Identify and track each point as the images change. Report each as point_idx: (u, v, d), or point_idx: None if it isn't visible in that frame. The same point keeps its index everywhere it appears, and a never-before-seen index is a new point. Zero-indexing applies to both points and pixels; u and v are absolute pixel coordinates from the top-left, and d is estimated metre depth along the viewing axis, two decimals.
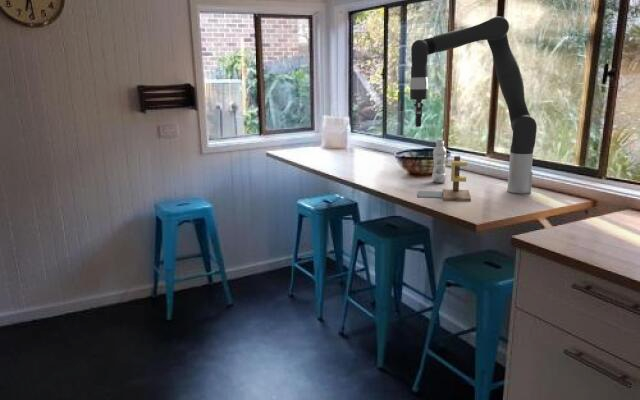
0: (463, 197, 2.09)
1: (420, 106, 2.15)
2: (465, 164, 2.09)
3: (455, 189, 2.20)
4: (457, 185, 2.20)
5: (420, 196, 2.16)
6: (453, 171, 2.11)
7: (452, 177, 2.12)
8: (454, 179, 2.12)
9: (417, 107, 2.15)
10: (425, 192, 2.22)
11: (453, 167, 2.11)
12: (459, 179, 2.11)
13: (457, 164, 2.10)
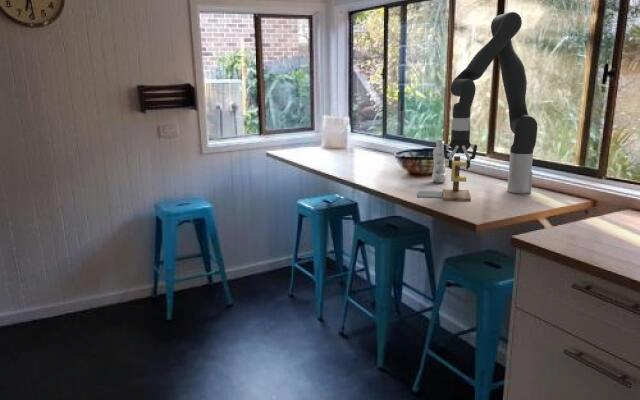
0: (463, 197, 2.09)
1: None
2: (465, 164, 2.09)
3: (455, 189, 2.20)
4: (457, 185, 2.20)
5: (420, 196, 2.16)
6: (453, 171, 2.11)
7: (452, 177, 2.12)
8: (454, 179, 2.12)
9: None
10: (425, 192, 2.22)
11: (453, 167, 2.11)
12: (459, 179, 2.11)
13: (457, 164, 2.10)
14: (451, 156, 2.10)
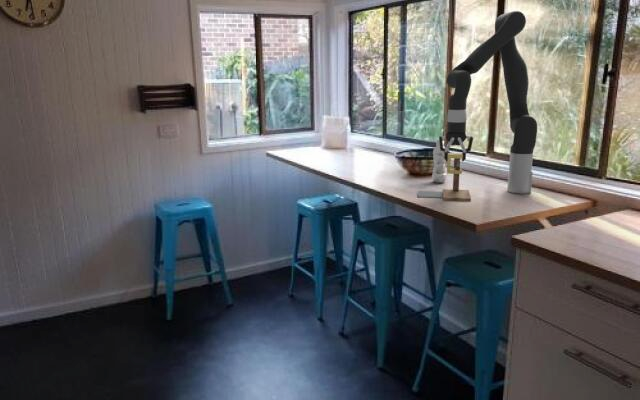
0: (463, 197, 2.09)
1: None
2: (461, 156, 2.09)
3: (455, 189, 2.20)
4: (457, 185, 2.20)
5: (420, 196, 2.16)
6: (449, 163, 2.11)
7: (448, 169, 2.11)
8: (450, 171, 2.11)
9: (472, 141, 2.08)
10: (425, 192, 2.22)
11: (449, 159, 2.10)
12: (455, 171, 2.11)
13: (453, 156, 2.10)
14: (447, 148, 2.10)
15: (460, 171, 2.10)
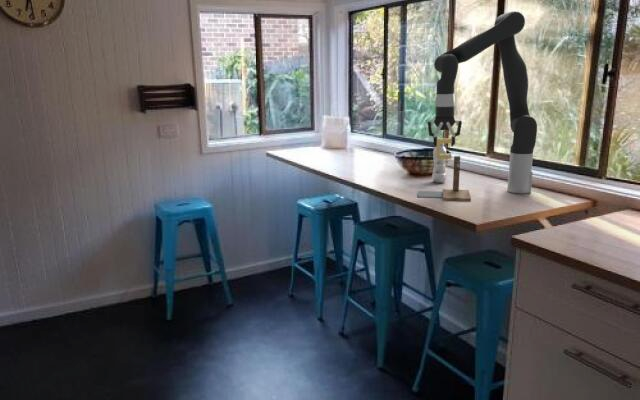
0: (463, 197, 2.09)
1: None
2: (450, 141, 2.08)
3: (455, 189, 2.20)
4: (457, 185, 2.20)
5: (420, 196, 2.16)
6: (438, 148, 2.10)
7: (437, 154, 2.11)
8: (439, 156, 2.11)
9: None
10: (425, 192, 2.22)
11: (438, 144, 2.10)
12: (444, 156, 2.10)
13: (442, 141, 2.09)
14: (436, 133, 2.09)
15: (449, 156, 2.10)
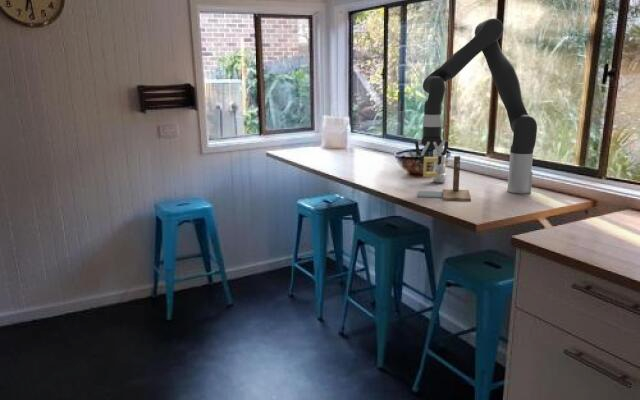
0: (463, 197, 2.09)
1: None
2: (436, 160, 2.13)
3: (455, 189, 2.20)
4: (457, 185, 2.20)
5: (420, 196, 2.16)
6: (425, 167, 2.15)
7: (424, 173, 2.16)
8: (426, 175, 2.16)
9: (447, 145, 2.12)
10: (425, 192, 2.22)
11: (425, 163, 2.15)
12: (431, 175, 2.16)
13: (429, 160, 2.14)
14: (423, 152, 2.15)
15: (436, 174, 2.15)
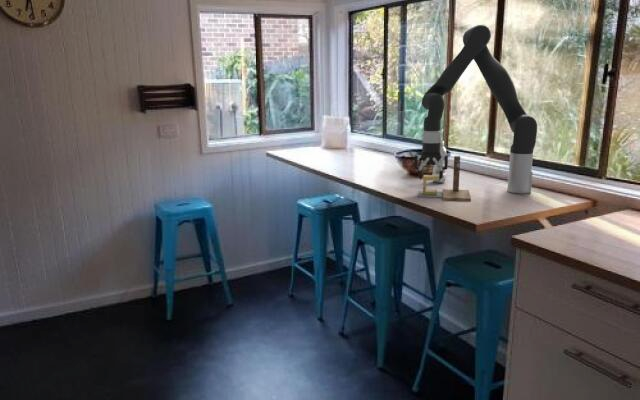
0: (463, 197, 2.09)
1: None
2: (436, 178, 2.15)
3: (455, 189, 2.20)
4: (457, 185, 2.20)
5: (420, 196, 2.16)
6: (424, 185, 2.17)
7: (423, 191, 2.18)
8: (425, 193, 2.18)
9: (447, 160, 2.14)
10: None
11: (424, 181, 2.17)
12: (430, 193, 2.17)
13: (428, 178, 2.16)
14: (421, 167, 2.16)
15: (435, 192, 2.17)
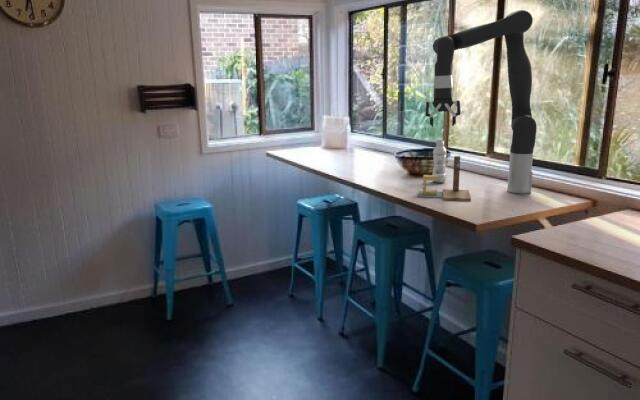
0: (463, 197, 2.09)
1: None
2: (436, 178, 2.15)
3: (455, 189, 2.20)
4: (457, 185, 2.20)
5: (420, 196, 2.16)
6: (424, 185, 2.17)
7: (423, 191, 2.18)
8: (425, 193, 2.18)
9: (459, 105, 2.10)
10: None
11: (424, 181, 2.17)
12: (430, 193, 2.17)
13: (428, 178, 2.16)
14: (432, 113, 2.12)
15: (435, 192, 2.17)
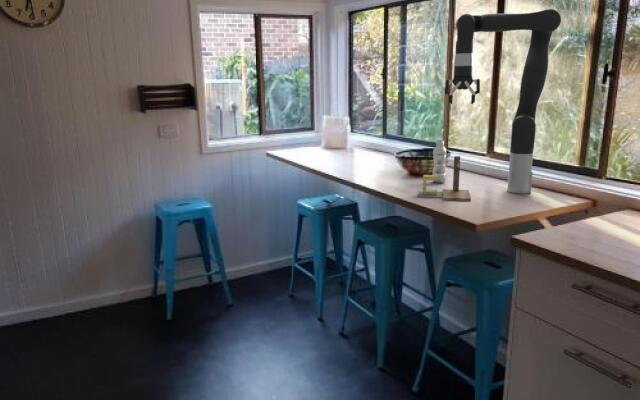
0: (463, 197, 2.09)
1: None
2: (436, 178, 2.15)
3: (455, 189, 2.20)
4: (457, 185, 2.20)
5: (420, 196, 2.16)
6: (424, 185, 2.17)
7: (423, 191, 2.18)
8: (425, 193, 2.18)
9: (479, 83, 2.12)
10: None
11: (424, 181, 2.17)
12: (430, 193, 2.17)
13: (428, 178, 2.16)
14: (451, 91, 2.14)
15: (435, 192, 2.17)
